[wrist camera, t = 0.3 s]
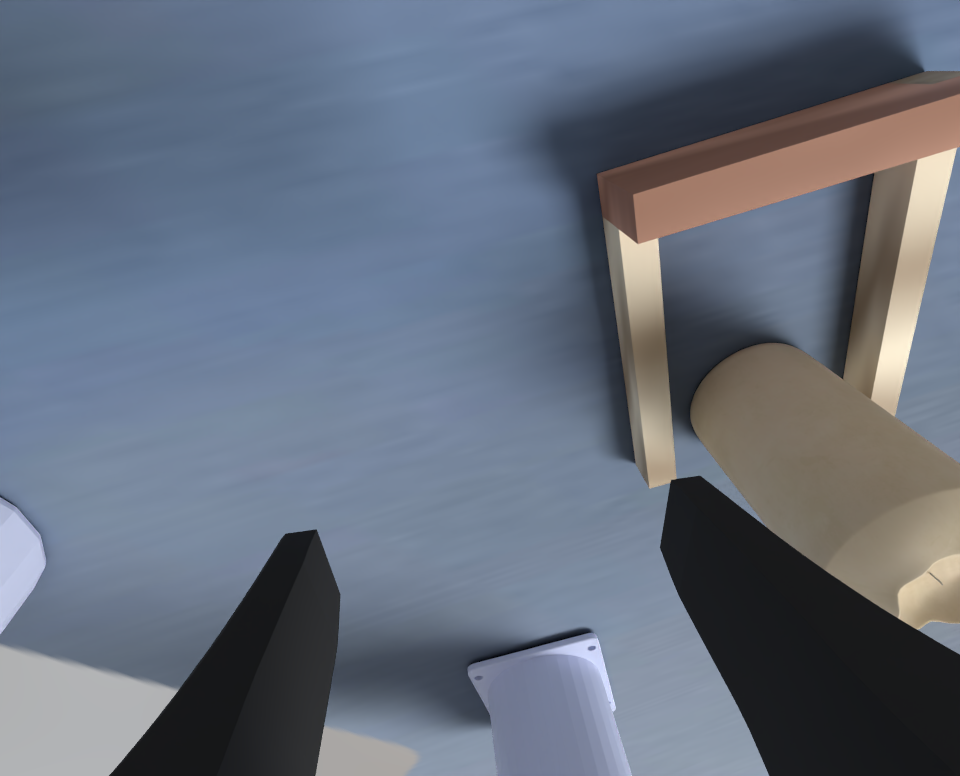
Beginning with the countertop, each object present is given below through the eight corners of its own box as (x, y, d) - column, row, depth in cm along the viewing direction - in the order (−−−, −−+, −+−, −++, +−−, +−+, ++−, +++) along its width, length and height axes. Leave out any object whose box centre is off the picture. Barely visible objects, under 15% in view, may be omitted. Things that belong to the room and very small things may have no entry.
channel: (865, 400, 23) (926, 444, 20) (635, 464, 23) (664, 515, 21) (926, 71, 16) (1032, 71, 13) (596, 174, 16) (633, 194, 14)
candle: (787, 314, 20) (1058, 493, 12) (829, 399, 23) (1076, 595, 14) (666, 395, 21) (829, 606, 13) (719, 466, 24) (883, 680, 16)
